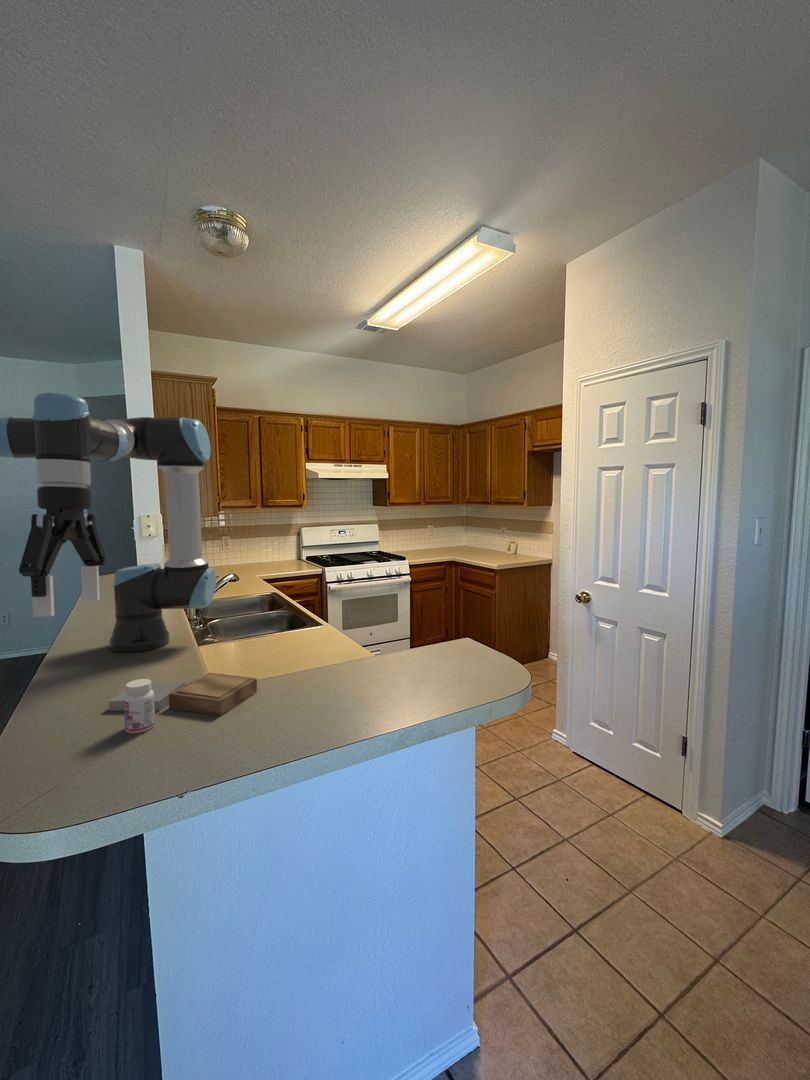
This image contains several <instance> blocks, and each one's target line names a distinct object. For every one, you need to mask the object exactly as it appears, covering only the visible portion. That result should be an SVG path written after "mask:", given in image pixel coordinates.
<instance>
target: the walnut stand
mask: <svg viewBox="0 0 810 1080" xmlns="http://www.w3.org/2000/svg"><path fill="white" fill-rule="evenodd" d="M256 691H257V692H258V680H257V677H256V678H255V677H249V676H239V675H230V674H222V673H214V672H209V673H207V674H205V675H204V676H201V677H199V678H197V679H195V680H193V681H191V682H189V683H187V684H185V686H183V687H181V688H179V689H177V690H175V691H173V692H171V693H169V704H168V708H169V709H170V710H177V709H178V711H183V710H184V711H185V712H190V711H192V713H197V712H198V714H204V715H210V716H211V715H212V716H216V717H217V716H218V717H222V716H223V715H225V714H226V713H227V712H229V711H231V710H232V709H234V708H236V707H237V706H238V705H239V703H240V704H241V703H243V702H244V701H246V700H247V699H248V697H249V698H250V697H251V695H252V694H253V693H255V692H256ZM257 692H256V693H257ZM256 693H255V694H256ZM253 695H254V694H253ZM253 695H252V696H253ZM245 699H246V700H245ZM242 701H243V702H242Z"/></svg>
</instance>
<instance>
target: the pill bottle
mask: <svg viewBox="0 0 810 1080" xmlns="http://www.w3.org/2000/svg"><path fill="white" fill-rule="evenodd" d="M151 682H152V680H151V679H149V678H141V679H140V678H139V679H135V680H131V681H129V682H127V683H126V685H125V690H126V695H125V696H124V711H123V714H124V731H125V732H126V733H128V734H140V733H145V732H147V731H149V730H150V729H151V730H152V728H154V727H155V725H156V724H155V723H156V718H155V717H156V713H155V712H156V711H155V709H154V692H153V691H152V690H151Z"/></svg>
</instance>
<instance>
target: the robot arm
mask: <svg viewBox="0 0 810 1080" xmlns="http://www.w3.org/2000/svg"><path fill="white" fill-rule="evenodd" d="M210 441H211V440H210V438H209V434H208V431H207V429H206V427H205V426H204V424H203V423H202V422H201V421H200V420H198V419H196V418H187V417H150V416H149V417H148V416H146V417H145V416H144V417H143V416H141V417H130V418H124V419H123V418H122V419H115V418H114V419H107V420H104V421H103V420H101V419H98V418H95V417H92V416H90V411H89V405H88V402H87V401H86V400H85V399H84V398H82V397H79V396H76V395H73V394H66V393H59V392H58V393H57V392H42V393H39V394H36V395H35V397H34V400H33V415H32V417H12V416H8V417H7V416H6V417H0V457H1V458H11V459H12V458H13V459H35V460H36V467H35V471H36V482H37V483H38V484H41V486H39V487H38V488H37V489H36V494H37V495H36V497H37V507H38V508H40V509H41V510H45V511H46V512H45V513H36V514H33V513H32V515H31V519H30V520H31V521H30V525H31V526H30V530H29V533H28V537H27V540H26V545H25V548H24V551H23V554H22V558H21V561H20V564H19V568H18V573H19V574H20V575H22V576H23V577H30V585H31V586H30V587H31V588H30V589H31V598H32V600H31V601H32V603H31V604H32V617H33V618H34V617H35V618H37V617H38V618H39V617H40V618H41V617H42V618H43V617H53V616H55V599H54V598H55V597H54V594H55V593H54V576H53V575H49V574H50V572H51V569H52V567H53V565H54V563H55V561H56V559H57V557H58V555H59V552H60V550H61V548H62V546H63V545H64V544H65V543H67V542H68V541H69V542H71V545H72V546H73V547H74V549H75V551H76V552H77V554H78V556H79V557H80V560H81V562H82V563H83V565H82V566H80V571H81V572H80V574H81V600H82V601H99V600H100V599H101V598H100V573H99V572H100V571H99V570H100V568H99V566H104V565H105V564H106V554H105V552H104V547H103V545H102V541H101V539H100V535H99V532H98V528H97V526H96V517H95V514H94V513H84V510H90V509H91V508H92V506H93V505H92V490H90V488H88V486H90V485H91V484H92V480H91V479H92V475H91V462H90V461H91V460H98V461H101V462H104V461H105V462H113V461H114V462H115V461H117V460H120V459H121V458H128V459H138V460H146V461H156V462H157V468H159V470H161V471H162V472H163V473H164V486H165V487H164V489H165V490H164V491H165V504H166V505H165V506H166V521H167V523H166V524H167V536H168V537H167V538H168V539H167V540H168V552H169V553H168V555H169V556H168V557H169V558H168V559H167V560H166V561H165V562H164V563H163V568H162V565H161V563H149V564H140V565H139V564H138V565H134V566H129V567H124V568H119V569H118V570H116V571H115V573H114V579H113V590H114V591H113V592H114V593H113V594H114V610H115V623H114V626H113V629H112V633H111V637H110V638H109V642H108V644H109V645H108V647H109V650H110V651H111V652H116V653H136V652H137V653H138V652H139V653H140V652H144V651H150V650H154V649H158V648H161V647H164V646H166V645H167V644H169V643H170V641H171V640H170V632H169V631H168V630H167V626H166V622H165V620H164V618H163V610H180V609H181V610H187V609H188V610H194V609H204V608H207V607H208V606H209V605H210V604H211V603H212V600H213V598H214V596H215V593H216V588H217V581H218V580H217V573H216V570H215V568H212V567H209V560H208V559H206V558H205V557H204V555H203V541H202V525H201V524H202V523H201V522H202V521H201V518H202V517H201V504H200V503H201V502H200V483H199V473H200V472H201V471H202V470H204V469H205V465H204V463H205V462H208V461H209V460H210V458H211V453H212V452H211V450H212V448H211V442H210Z"/></svg>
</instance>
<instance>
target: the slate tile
mask: <svg viewBox="0 0 810 1080" xmlns="http://www.w3.org/2000/svg"><path fill="white" fill-rule="evenodd" d="M185 685H186V684H185V681H151V690H152V691H153V692H154V709H155V712H161V711H162V710H163V709H164V708H166V707H167V706H169V693H171V692H173V691H175V690H177V689H179V688H181V687H183V686H185ZM125 695H126V689H125V690H123V691H121V692H120V693H119V694H117V695H115V696H114V697H113V698H111V699H109V700H108V710H109V712H111V711H112V712H119V711H120V712H124V696H125Z"/></svg>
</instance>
